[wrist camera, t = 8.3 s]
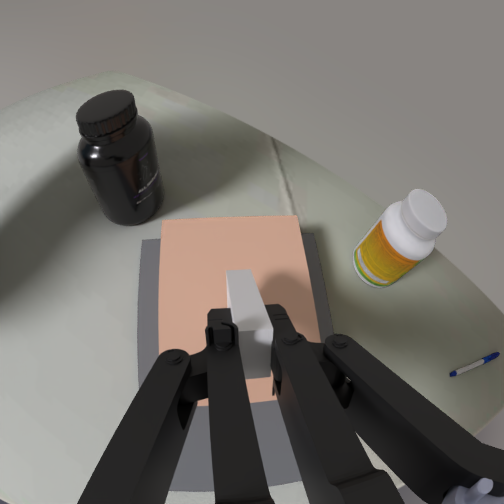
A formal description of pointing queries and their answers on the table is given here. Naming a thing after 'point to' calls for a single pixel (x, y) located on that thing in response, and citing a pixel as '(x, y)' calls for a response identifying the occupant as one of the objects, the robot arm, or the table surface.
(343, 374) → the robot arm
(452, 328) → the table surface
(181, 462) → the mat
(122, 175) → the supplement bottle
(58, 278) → the table surface
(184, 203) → the table surface
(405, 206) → the supplement bottle
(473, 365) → the ballpoint pen
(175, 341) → the tile
